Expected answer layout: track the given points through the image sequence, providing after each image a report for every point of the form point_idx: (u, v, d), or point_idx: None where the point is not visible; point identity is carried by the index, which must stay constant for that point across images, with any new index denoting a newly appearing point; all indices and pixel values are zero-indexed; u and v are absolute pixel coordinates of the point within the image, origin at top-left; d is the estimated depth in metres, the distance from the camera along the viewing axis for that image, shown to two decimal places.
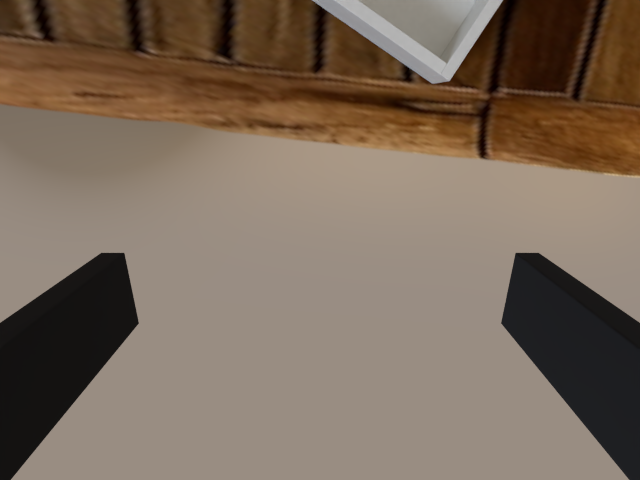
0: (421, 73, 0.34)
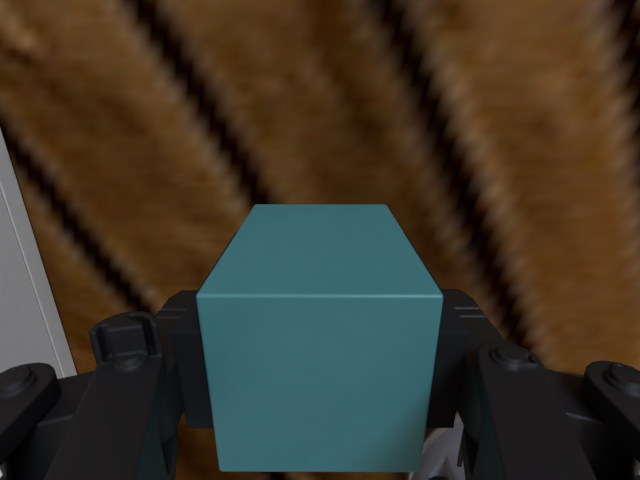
0: None
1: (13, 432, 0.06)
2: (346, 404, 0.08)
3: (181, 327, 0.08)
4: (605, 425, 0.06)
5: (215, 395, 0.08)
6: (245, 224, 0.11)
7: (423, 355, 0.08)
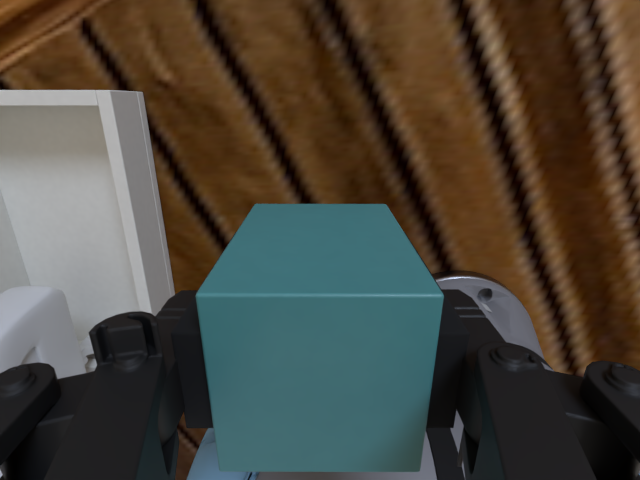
0: None
1: (13, 432, 0.06)
2: (346, 404, 0.08)
3: (181, 327, 0.08)
4: (606, 425, 0.06)
5: (214, 395, 0.08)
6: (245, 224, 0.11)
7: (423, 355, 0.08)
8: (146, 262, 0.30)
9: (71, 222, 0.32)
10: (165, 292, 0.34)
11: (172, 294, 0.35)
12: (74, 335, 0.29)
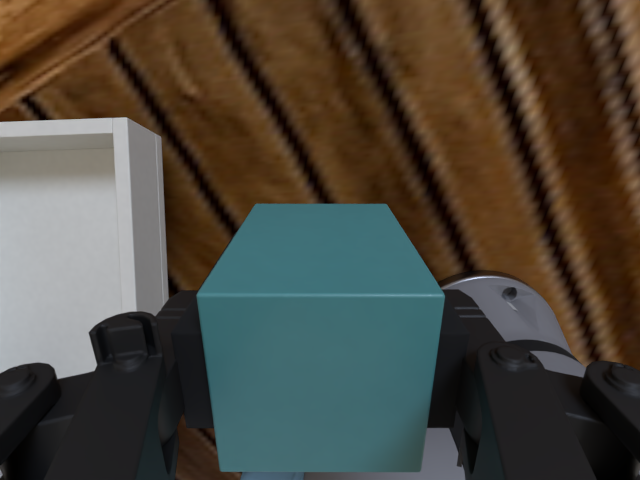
0: None
1: (13, 432, 0.06)
2: (347, 404, 0.08)
3: (181, 327, 0.08)
4: (605, 425, 0.06)
5: (215, 396, 0.08)
6: (246, 224, 0.11)
7: (424, 355, 0.08)
8: None
9: (62, 277, 0.28)
10: None
11: None
12: None
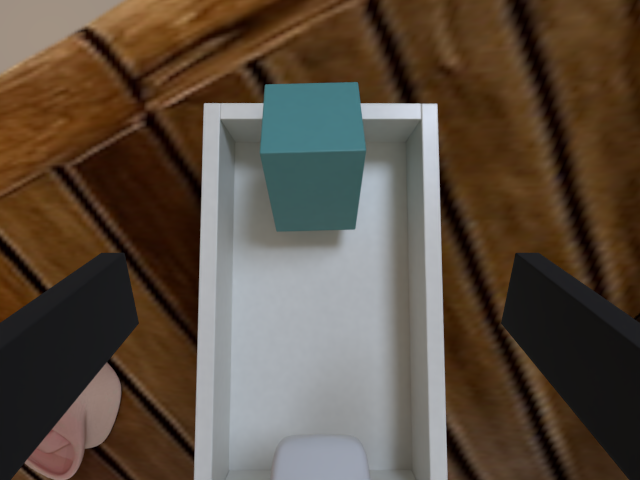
0: None
1: None
2: (324, 118, 0.18)
3: None
4: None
5: (265, 117, 0.18)
6: None
7: (354, 99, 0.19)
8: None
9: (310, 280, 0.25)
10: None
11: None
12: None
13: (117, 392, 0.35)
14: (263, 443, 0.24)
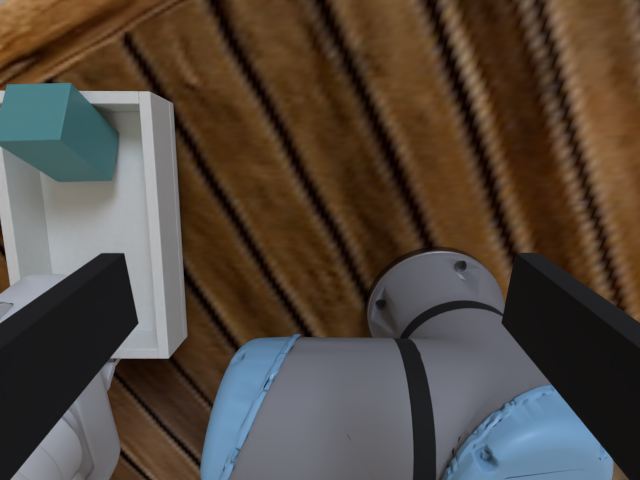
0: None
1: None
2: (39, 114, 0.27)
3: None
4: None
5: (1, 112, 0.27)
6: None
7: (63, 98, 0.28)
8: (163, 243, 0.33)
9: (98, 213, 0.36)
10: (176, 279, 0.36)
11: (182, 284, 0.38)
12: None
13: None
14: None
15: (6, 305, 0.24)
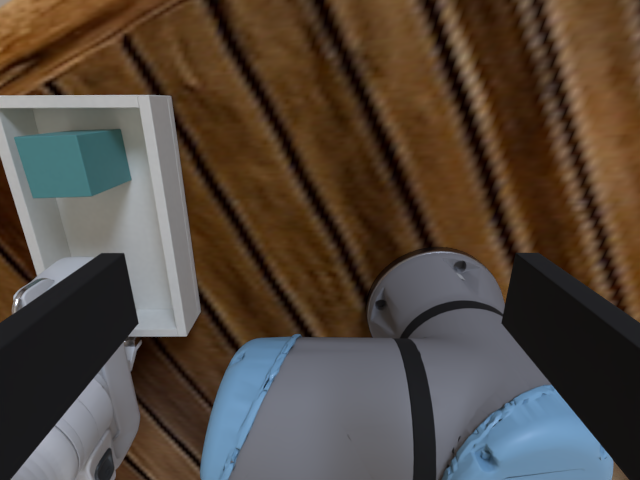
0: None
1: None
2: (61, 171, 0.30)
3: None
4: None
5: (25, 169, 0.30)
6: (53, 132, 0.33)
7: (76, 153, 0.29)
8: (174, 238, 0.36)
9: (109, 206, 0.38)
10: (187, 266, 0.39)
11: (193, 268, 0.41)
12: None
13: None
14: None
15: (49, 281, 0.28)
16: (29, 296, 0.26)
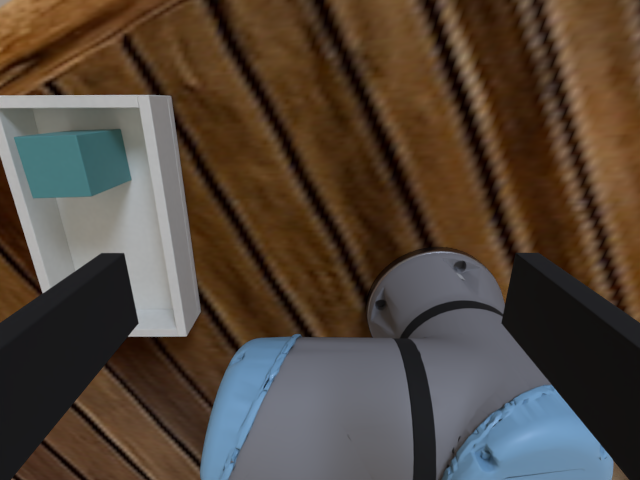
0: None
1: None
2: (61, 171, 0.30)
3: None
4: None
5: (25, 169, 0.30)
6: (53, 132, 0.33)
7: (76, 153, 0.29)
8: (174, 238, 0.36)
9: (109, 206, 0.38)
10: (187, 266, 0.39)
11: (193, 268, 0.41)
12: None
13: None
14: None
15: None
16: None
